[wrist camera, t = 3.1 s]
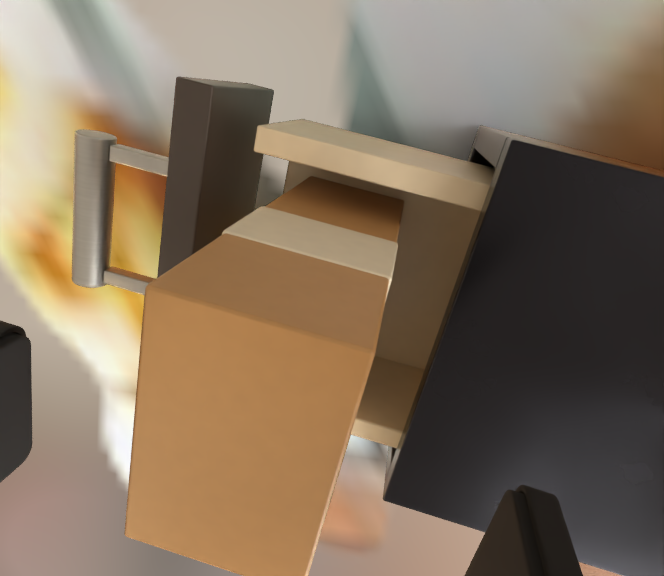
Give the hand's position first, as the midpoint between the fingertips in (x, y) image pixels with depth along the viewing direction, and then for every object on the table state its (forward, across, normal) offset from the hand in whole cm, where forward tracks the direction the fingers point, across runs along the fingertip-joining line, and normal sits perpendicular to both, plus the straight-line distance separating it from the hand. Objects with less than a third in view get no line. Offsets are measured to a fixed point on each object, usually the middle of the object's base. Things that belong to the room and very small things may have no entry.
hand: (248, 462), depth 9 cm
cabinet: (+15, -11, 0) cm, 19 cm away
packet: (+13, 0, 0) cm, 13 cm away
